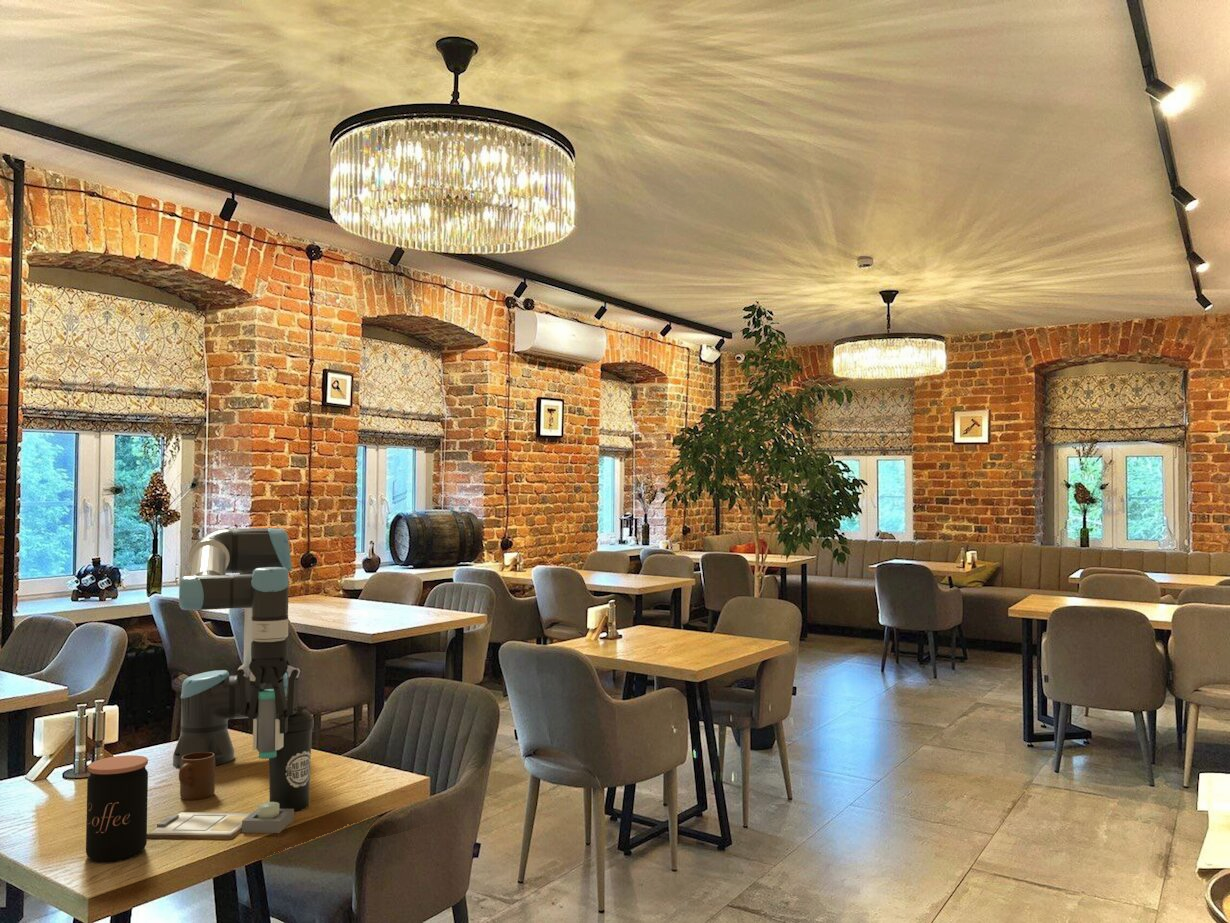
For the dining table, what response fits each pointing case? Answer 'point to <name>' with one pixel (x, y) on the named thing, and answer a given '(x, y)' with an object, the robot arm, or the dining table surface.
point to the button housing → (267, 822)
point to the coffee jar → (116, 808)
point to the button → (268, 810)
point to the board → (199, 826)
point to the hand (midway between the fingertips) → (268, 748)
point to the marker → (267, 723)
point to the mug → (197, 775)
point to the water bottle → (293, 764)
